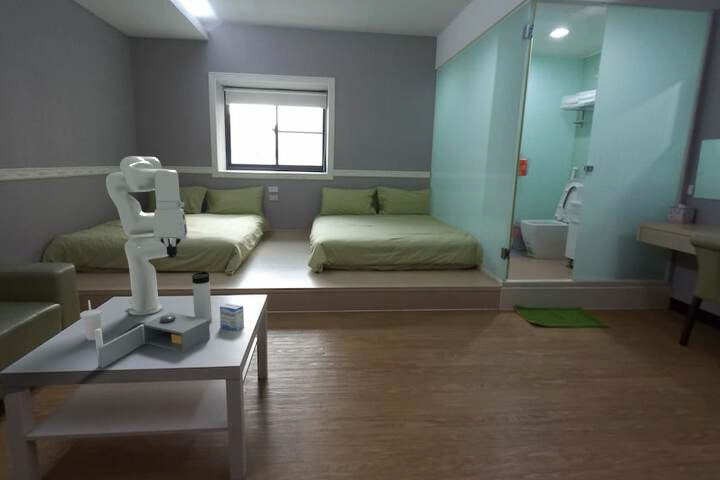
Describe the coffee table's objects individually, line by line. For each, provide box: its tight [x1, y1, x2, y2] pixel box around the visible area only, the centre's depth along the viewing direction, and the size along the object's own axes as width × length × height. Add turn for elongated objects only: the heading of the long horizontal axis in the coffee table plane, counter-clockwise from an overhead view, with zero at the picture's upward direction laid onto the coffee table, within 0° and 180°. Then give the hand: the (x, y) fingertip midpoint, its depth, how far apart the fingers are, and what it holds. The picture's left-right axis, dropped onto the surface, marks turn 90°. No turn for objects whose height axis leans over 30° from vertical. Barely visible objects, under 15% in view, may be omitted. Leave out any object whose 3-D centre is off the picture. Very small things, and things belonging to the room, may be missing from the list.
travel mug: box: [191, 270, 213, 324], centre depth 154 cm, size 6×7×20 cm
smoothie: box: [79, 299, 103, 341], centre depth 138 cm, size 6×6×14 cm
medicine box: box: [219, 303, 245, 331], centre depth 150 cm, size 8×4×9 cm, turn 70°
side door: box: [94, 325, 146, 369], centre depth 126 cm, size 18×3×12 cm, turn 169°
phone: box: [116, 322, 145, 338], centre depth 145 cm, size 7×1×15 cm
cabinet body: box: [143, 312, 211, 353], centre depth 138 cm, size 18×12×8 cm, turn 69°
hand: (172, 256), depth 139 cm, fingers closed
